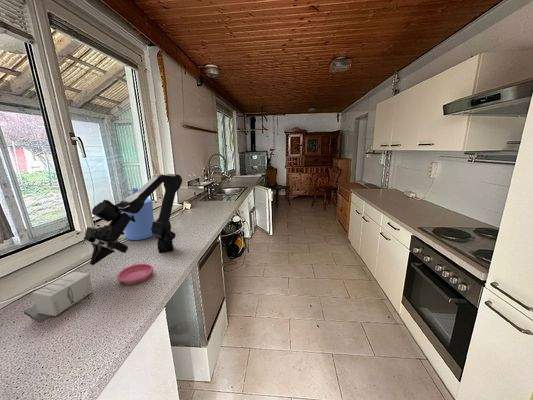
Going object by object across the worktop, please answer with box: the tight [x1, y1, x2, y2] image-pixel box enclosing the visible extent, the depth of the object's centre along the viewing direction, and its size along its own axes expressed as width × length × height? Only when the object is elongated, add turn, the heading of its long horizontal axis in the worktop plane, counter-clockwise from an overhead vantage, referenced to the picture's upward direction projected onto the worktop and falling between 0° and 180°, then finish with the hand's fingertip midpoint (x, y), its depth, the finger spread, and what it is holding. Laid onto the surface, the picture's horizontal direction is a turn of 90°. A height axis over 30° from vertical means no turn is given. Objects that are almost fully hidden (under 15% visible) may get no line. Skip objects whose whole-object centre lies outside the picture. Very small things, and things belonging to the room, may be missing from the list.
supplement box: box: [32, 271, 94, 317], centre depth 74 cm, size 7×7×13 cm
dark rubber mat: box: [23, 296, 87, 323], centre depth 74 cm, size 12×10×1 cm
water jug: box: [121, 188, 155, 241], centre depth 128 cm, size 16×16×28 cm
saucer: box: [116, 263, 154, 286], centre depth 89 cm, size 12×12×3 cm
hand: (91, 264), depth 82 cm, fingers closed
